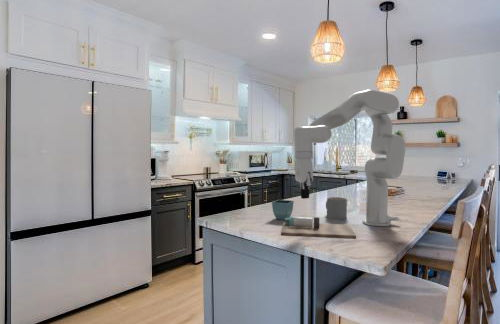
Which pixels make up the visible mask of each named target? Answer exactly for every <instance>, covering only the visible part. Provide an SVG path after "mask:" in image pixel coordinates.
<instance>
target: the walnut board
mask: <svg viewBox="0 0 500 324" xmlns="http://www.w3.org/2000/svg"><path fill="white" fill-rule="evenodd" d="M280 233H281V234H280V235H281V236H301V237H323V238H324V237H325V238H346V239H356V238H357V234H356V233H355V231H354V230H353V229H352V227H351V226H350V224H337V223H334V224H333V223H320V217H318V216H314V217H313V226H312V227H307V226H292V225H289V218H285V220H284V222H283V223H282V228H281V231H280Z"/></svg>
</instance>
